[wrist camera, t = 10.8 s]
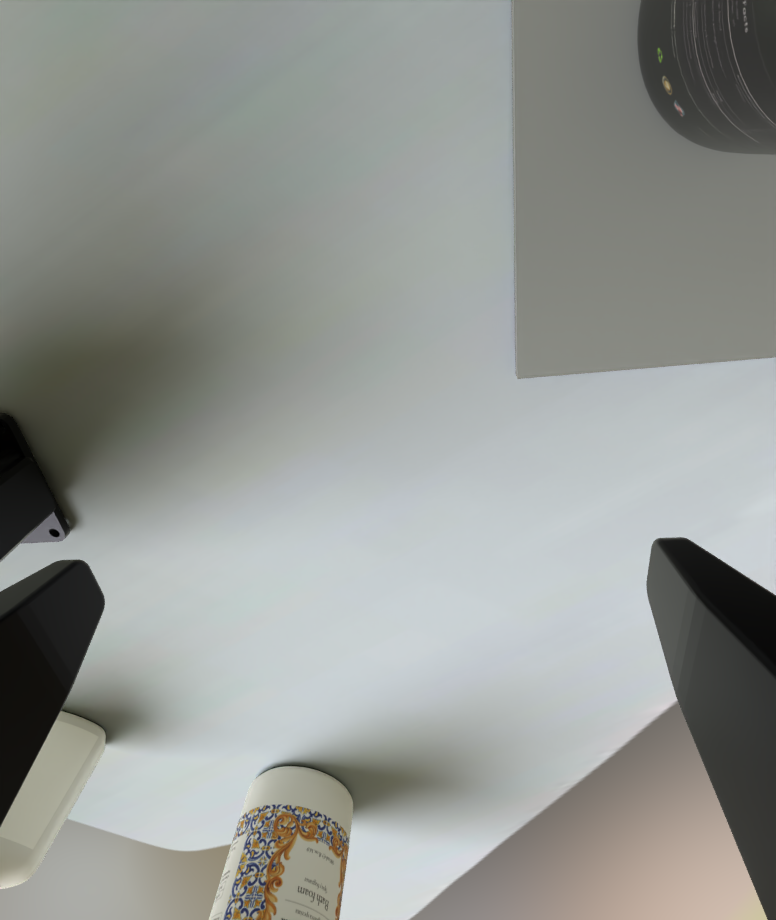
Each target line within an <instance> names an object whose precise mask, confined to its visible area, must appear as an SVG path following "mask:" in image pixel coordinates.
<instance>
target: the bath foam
mask: <svg viewBox="0 0 776 920" xmlns="http://www.w3.org/2000/svg"><path fill="white" fill-rule="evenodd" d="M352 817H353V801H352V798H351V795H350V793H349V792H348V790H347V789H346V788H345V787H344V786H343V785H342V784H341V783H340V782H339V781H338V780H336V779H335V778H333V777H331V776H330V775H328V774H325V773H323V772H321V771H318V770H314V769H310V768H306V767H298V766H285V767H278V768H274V769H271V770H268V771H266V772H264V773H263V774H261V775H260V776H258V777H257V778H256V779H255V780H254V781H253V782H252V784H251V785H250V788H249V790H248V793H247V796H246V800H245V803H244V806H243V809H242V813H241V816H240V819H239V822H238V825H237V828H236V832H235V835H234V838H233V842H232V845H231V848H230V851H229V855H228V858H227V861H226V865H225V868H224V871H223V875H222V878H221V881H220V885H219V888H218V892H217V895H216V898H215V901H214V904H213V908H212V911H211V915H210V918H209V920H339V916H340V908H341V901H342V894H343V886H344V879H345V871H346V864H347V856H348V849H349V839H350V832H351V824H352Z"/></svg>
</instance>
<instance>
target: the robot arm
mask: <svg viewBox="0 0 776 920" xmlns="http://www.w3.org/2000/svg"><path fill="white" fill-rule="evenodd" d="M0 423H1V424H2V425H3V426H4V427H5V428H4V427H2V425H1V424H0V562H1V561H2V560H3V559H4V558H5V557H6V556H7V555H8V554H9V553H10V552H11V551H12V550H14V549H15V548H16V547H17V546H18V545H19V544H20V543H38V542H59V541H62V540H64V539H65V538H66V537H67V535H68V534H69V533H70V528H69V526H68V524H67V522H66V520H65V518H64V516H63V514H62V512H61V510H60V508H59V506H58V504H57V502H56V500H55V498H54V496H53V494H52V492H51V490H50V488H49V486H48V484H47V482H46V480H45V478H44V476H43V474H42V473H41V471H40V469H39V467H38V465H37V463H36V461H35V459H34V457H33V455H32V453H31V451H30V449H29V447H28V445H27V443H26V441H25V439H24V437H23V435H22V433H21V431H20V429H19V427H18V425H17V423H16V422H15V420H14V419H13V418H12V417H11V416H10V415H7V414H5V413H0ZM57 530H58V531H57ZM647 594H648V599H649V603H650V606H651V610H652V613H653V617H654V620H655V624H656V628H657V631H658V635H659V638H660V642H661V645H662V649H663V652H664V656H665V659H666V663H667V667H668V670H669V674H670V677H671V681H672V684H673V687H674V690H675V694H676V697H677V699H678V702H679V705H680V707H681V710H682V712H683V715H684V717H685V720H686V722H687V725H688V727H689V730H690V732H691V734H692V737H693V739H694V742H695V744H696V747H697V749H698V751H699V754H700V756H701V759H702V761H703V764H704V766H705V768H706V771H707V773H708V775H709V778H710V781H711V783H712V785H713V788H714V790H715V793H716V795H717V798H718V800H719V802H720V805H721V807H722V810H723V812H724V814H725V817H726V819H727V822H728V824H729V827H730V829H731V832H732V834H733V836H734V839H735V841H736V844H737V846H738V849H739V851H740V853H741V856H742V858H743V861H744V863H745V866H746V868H747V870H748V873H749V875H750V878H751V880H752V882H753V885H754V887H755V890H756V892H757V895H758V897H759V900H760V902H761V904H762V907H763V909H764V912H765V914H766V917H767V919H768V920H776V595H774V594H773V593H771V592H770V591H768V590H767V589H765V588H763V587H762V586H760V585H759V584H757V583H756V582H754V581H753V580H751V579H750V578H748V577H746V576H745V575H743V574H742V573H740V572H739V571H737V570H736V569H734V568H732V567H731V566H729V565H728V564H726V563H725V562H723V561H722V560H720V559H718V558H717V557H715V556H714V555H712V554H711V553H709V552H708V551H706V550H704V549H703V548H701V547H700V546H698V545H697V544H695V543H694V542H692V541H690V540H689V539H687V538H682V537H677V538H658V539H656V540H655V541H654V542H653V544H652V548H651V554H650V562H649V569H648V576H647ZM104 605H105V599H104V595H103V593H102V591H101V589H100V587H99V585H98V583H97V581H96V579H95V577H94V575H93V573H92V571H91V569H90V567H89V565H88V564H87V563H86V562H84V561H82V560H60V561H56V562H54V563H52V564H51V565H49V566H47V567H45V568H43V569H41V570H39V571H38V572H36V573H34V574H32V575H30V576H28V577H27V578H25V579H23V580H21V581H19V582H17V583H16V584H14V585H12V586H10V587H8V588H6V589H5V590H3V591H1V592H0V827H1V825H2V823H3V821H4V819H5V817H6V815H7V813H8V812H9V810H10V808H11V806H12V804H13V802H14V800H15V798H16V796H17V794H18V792H19V790H20V788H21V787H22V785H23V783H24V781H25V779H26V777H27V775H28V773H29V771H30V769H31V767H32V765H33V763H34V762H35V760H36V758H37V756H38V754H39V752H40V750H41V748H42V746H43V744H44V742H45V740H46V738H47V737H48V735H49V733H50V731H51V729H52V727H53V725H54V723H55V721H56V719H57V717H58V715H59V713H60V711H61V710H62V708H63V706H64V703H65V701H66V699H67V697H68V695H69V693H70V691H71V689H72V686H73V684H74V682H75V679H76V677H77V674H78V672H79V669H80V667H81V665H82V662H83V660H84V657H85V655H86V652H87V650H88V647H89V645H90V642H91V640H92V638H93V635H94V633H95V630H96V628H97V625H98V623H99V620H100V618H101V615H102V613H103V610H104Z"/></svg>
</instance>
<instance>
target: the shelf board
mask: <svg viewBox="0 0 776 920" xmlns="http://www.w3.org/2000/svg"><path fill="white" fill-rule="evenodd" d="M640 3H641V0H512V91H513V182H514V273H515V364H516V376H517V379H521V378H533V377H545V376H557V375H569V374H581V373H593V372H605V371H617V370H629V369H641V368H653V367H665V366H677V365H689V364H701V363H713V362H725V361H736V360H748V359H760V358H772V357H776V155H767V154H742V153H729V152H722V151H717V150H712V149H709V148H706V147H703V146H700V145H697V144H695V143H693V142H691V141H689V140H687V139H686V138H684V137H683V136H681V135H680V134H678V133H677V132H676V131H675V130H674V129H672V128H671V127H670V126H669V125H668V124H667V123H666V121H665V120H664V119H663V118H662V117H661V115H660V114H659V113H658V111H657V110H656V108H655V106H654V105H653V103H652V101H651V99H650V97H649V95H648V92H647V90H646V87H645V84H644V81H643V77H642V74H641V69H640V64H639V56H638V45H637V29H638V17H639V9H640Z"/></svg>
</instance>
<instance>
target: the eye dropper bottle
mask: <svg viewBox="0 0 776 920" xmlns="http://www.w3.org/2000/svg"><path fill="white" fill-rule="evenodd" d="M105 741H106V734H105V732H104V730H103V729H102V728H101V727H100V726H98V725H97V724H95V723H93V722H91V721H89V720H86V719H84V718H82V717H79V716H76V715H73V714H70V713H67V712H63V711H60V713H59V715H58V717H57V719H56V721H55V723H54V725H53V727H52V729H51V731H50V733H49V735H48V737H47V738H46V740H45V742H44V744H43V746H42V748H41V750H40V752H39V754H38V756H37V758H36V760H35V762H34V763H33V765H32V767H31V769H30V771H29V773H28V775H27V777H26V779H25V781H24V783H23V785H22V787H21V788H20V790H19V792H18V794H17V796H16V798H15V800H14V802H13V804H12V806H11V808H10V810H9V812H8V813H7V815H6V817H5V819H4V821H3V823H2V825H1V827H0V889H3V888H9V887H12V886H16V885H19V884H21V883H23V882H25V881H27V880H28V879H29V878H30V877H31V876H32V875H33V874H34V873H35V872H36V870H37V868H38V867H39V865H40V864H41V862H42V860H43V859H44V857H45V855H46V854H47V852H48V850H49V848H50V846H51V845H52V843H53V841H54V840H55V838H56V836H57V834H58V833H59V831H60V829H61V827H62V825H63V823H64V822H65V820H66V818H67V817H68V815H69V813H70V811H71V810H72V808H73V806H74V804H75V802H76V801H77V799H78V797H79V795H80V793H81V792H82V790H83V788H84V786H85V785H86V783H87V781H88V779H89V777H90V776H91V774H92V772H93V770H94V768H95V767H96V765H97V763H98V761H99V760H100V758H101V756H102V754H103V752H104V750H105Z"/></svg>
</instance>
